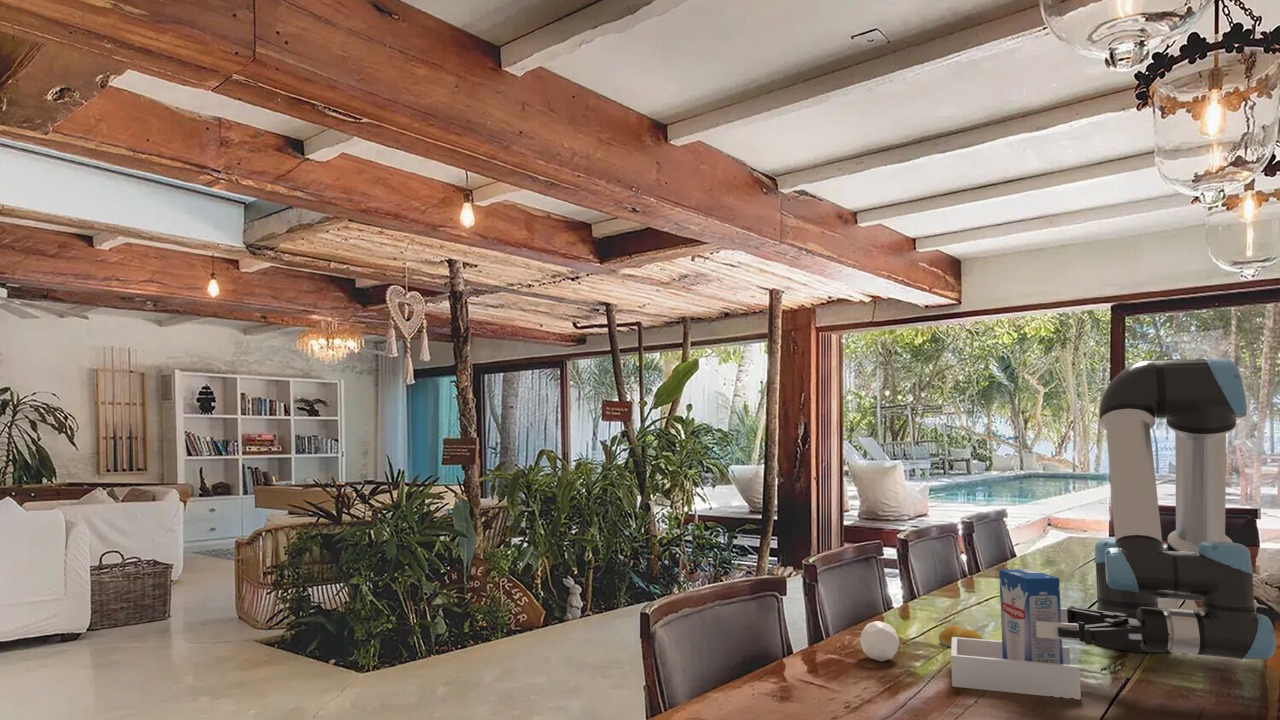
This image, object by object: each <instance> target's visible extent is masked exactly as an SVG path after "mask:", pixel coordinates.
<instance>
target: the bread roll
mask: <svg viewBox="0 0 1280 720" xmlns="http://www.w3.org/2000/svg"><path fill="white" fill-rule="evenodd" d="M952 637H960V638H972V639H984V638H983V636H982V635H981V634H980V633H979V632H977V631H976V630H972V629H963V628H962V627H960V626H957V625H950V626H946V627H944V628H943V629H942V630H941V632H939V634H938V641H939V643H941V644H942V645H944V646H946V647H950V648H951V645H952Z"/></svg>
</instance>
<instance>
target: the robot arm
mask: <svg viewBox="0 0 1280 720" xmlns="http://www.w3.org/2000/svg"><path fill="white" fill-rule="evenodd" d="M1247 409H1248V406H1247V399H1246V393H1245V388H1244V384H1243V380H1242V376H1241V374H1240V370H1239V368H1238V366H1237V364H1236V363H1235V362H1234V361H1232V360H1231V359H1228V358H1209V357H1205V358H1197V359H1194V358H1193V359H1192V358H1191V359H1172V360H1171V359H1170V360H1144V361H1140V362H1137V363H1134V364H1131V365H1130V366H1127V367H1125V368H1124V369H1123V370H1121V371H1120V372H1119V373H1118V374H1117V375H1116V376H1115V377H1114V378H1113V379H1112V380H1111V381H1110V383H1109V384H1108V386H1107V387H1106V389H1105V390H1104V393H1103V396H1101V401H1100V405H1099V423H1100V427H1101V428H1102V429H1103V430H1104V431H1106V442H1107V452H1108V453H1107V456H1108V465H1109V466H1108V469H1109V479H1110V493H1111V505H1112V517H1113V519H1112V520H1113V529H1114V530H1113V531H1114V536H1113V537H1107V538H1106V537H1105V538H1103V539H1100V540H1098V541H1097V542H1096V543H1095V548H1094V560H1093V562H1094V563H1095V580H1096V581H1095V583H1096V600H1097V602H1096V604H1097V605H1096V609H1092V608H1084V607H1079V606H1078V607H1077V606H1074V605H1071V606H1068V608H1067V607H1064V608H1063V607H1061V623H1058V622H1044V621H1036V633H1037V637H1038V638H1051V639H1062V640H1067V641H1079V642H1081V643H1084V644H1085V645H1087V646H1091V645H1098V646H1100V647H1103V648H1108V649H1112V650H1118V651H1123V652H1124V651H1126V652H1131V653H1132V652H1134V653H1144V654H1145V653H1148V654H1149V653H1151V654H1153V653H1154V654H1155V653H1166V652H1168V651H1169V652H1170V653H1172V654H1181V655H1182V657H1184V658H1189V654H1190V655H1197V656H1207V657H1218V658H1219V657H1220V658H1221V657H1222V658H1231V659H1239V660H1268V659H1270V658H1272V657H1273V656H1274V653H1275V651H1276V642H1277V641H1276V635H1275V630H1274V626H1273V624H1272V621H1271V620H1270V618H1269V617H1268V616H1266V615H1264V614H1260V613H1257V609H1256V608H1255V595H1254V594H1255V593H1254V577H1253V576H1254V571H1253V567H1252V566H1253V565H1252V558H1251V557H1252V556H1251V551H1250V550H1249V548H1248V547H1247V546H1245V545H1244V544H1241V543H1238V542H1233V540H1232V539H1231V538H1230V537H1229V536H1227V535H1226V497H1227V496H1226V495H1227V494H1226V489H1227V488H1226V487H1227V486H1226V485H1227V483H1226V480H1227V434H1229V433H1231V432H1232V431H1233V430H1234V429H1235V428H1236V427H1237V419H1242V418H1245V417H1246V416H1247V411H1248V410H1247ZM1156 418H1157V419H1165V420H1166V421H1165V422H1166V426H1167V427H1168V428H1170V430H1172V431H1174V432H1175V433H1174V434H1175V438H1174V439H1175V440H1174V442H1175V443H1174V444H1175V446H1174V448H1175V452H1174V453H1175V530H1173V531H1171V532H1170V533H1169V534H1168V536H1167V543H1163V538H1162V537H1163V535H1162V527H1161V519H1160V510H1159V509H1160V507H1159V499H1158V491H1157V481H1156V473H1155V472H1156V471H1155V461H1154V453H1153V445H1152V443H1153V442H1152V436H1151V435H1152V433H1151V430H1152V428H1154V426H1155V425H1156ZM1159 599H1170V600H1182V601H1195V602H1197V601H1198V602H1201V606H1202V610H1195V609H1193V610H1192V609H1186V608H1184V609H1182V608H1165V609H1164V610H1163V609H1161V607H1159Z"/></svg>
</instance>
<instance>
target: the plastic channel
mask: <svg viewBox="0 0 1280 720" xmlns="http://www.w3.org/2000/svg"><path fill="white" fill-rule="evenodd" d="M1062 649H1063V664H1054V663H1043V662H1032V661H1021V660H1010V659H1003V652H1002V640H995V639H984V638H983V639H972V638H960V637H952V645H951V647H950V650H951V651H950V662H951V663H950V664H951V665H950V667H951V687H954V688H955V687H956V688H966V689H974V690H983V691H984V690H985V691H994V692H1003V693H1004V692H1005V693H1013V694H1020V695H1021V694H1023V695H1033V696H1042V697H1050V696H1053V697H1052V698H1060V697H1063V698H1062V699H1070V698H1074V699H1073V700H1080V699H1081V700H1082V698H1081V697H1082V696H1081V675H1080V674H1081V673H1080V665H1078V664H1077V665H1075V664H1071V655H1070V654H1071V653H1070V650H1071V649H1070V646H1069V645H1068V646H1067V645H1062Z"/></svg>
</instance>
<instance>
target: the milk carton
mask: <svg viewBox="0 0 1280 720" xmlns="http://www.w3.org/2000/svg"><path fill="white" fill-rule="evenodd" d="M998 573H999V574H998V575H999V576H998V577H999V595H1000V596H999V597H1000V598H999V600H1000V602H999V603H1000V621H1001V623H1000V624H1001V641H1002V652H1003V659H1010V660H1021V661H1032V662H1043V663H1054V664H1063V649H1062V646H1063V639H1051V638H1038V637H1037V633H1036V621H1044V622H1058V623H1061V608H1062V607H1061V591H1060V590H1061V588H1060V577H1057V576H1054V575H1050V574H1048V573H1044V572H1040V571H1037V570H1034V569H1031V568H1027V569H1025V568H1023V569H1022V568H1021V569H1020V568H1019V569H1016V568H1015V569H999V570H998Z"/></svg>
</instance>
